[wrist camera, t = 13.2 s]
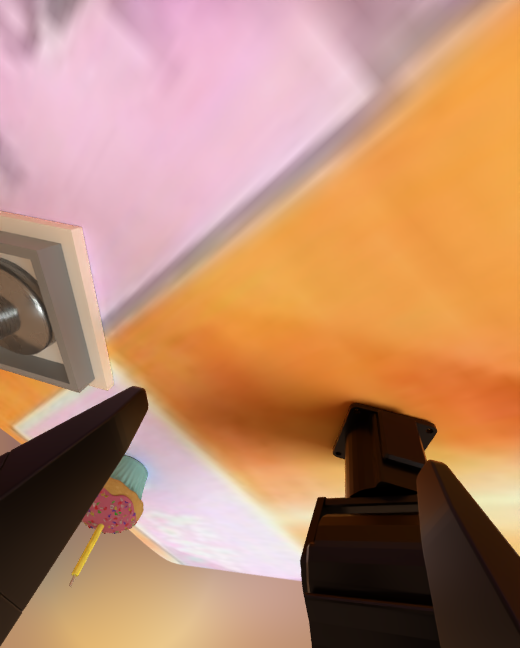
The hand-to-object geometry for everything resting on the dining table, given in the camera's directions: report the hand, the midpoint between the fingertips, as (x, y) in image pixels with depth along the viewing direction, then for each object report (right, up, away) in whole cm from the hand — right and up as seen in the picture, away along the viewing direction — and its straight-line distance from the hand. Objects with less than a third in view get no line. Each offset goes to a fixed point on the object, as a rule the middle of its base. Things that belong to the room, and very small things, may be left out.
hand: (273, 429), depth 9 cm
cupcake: (-17, -16, +29) cm, 37 cm away
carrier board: (-22, +6, +18) cm, 29 cm away
